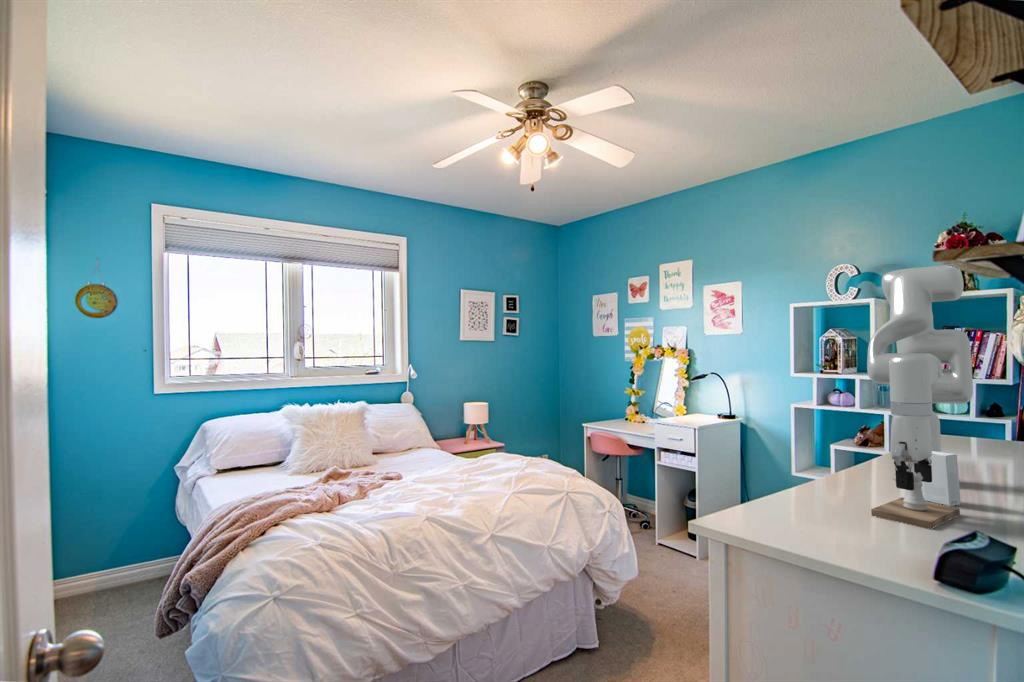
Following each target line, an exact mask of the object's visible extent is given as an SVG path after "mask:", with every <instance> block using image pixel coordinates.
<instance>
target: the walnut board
mask: <svg viewBox="0 0 1024 682" xmlns="http://www.w3.org/2000/svg"><path fill="white" fill-rule="evenodd" d="M905 498H906V497H904V496H903V497H899V498H897V499H894V500H892V501H888V502H886V503H884V504H882V505H879V506H876V507H873V508H871V513H870V514H871V515H870V516H871V517H874V516H876V517H875V518H879V517H880V518H879V519H883V518H884V520H888V519H889V521H892V520H893V521H892V522H896V521H898V522H897V523H901V522H903V523H902V524H905V523H907V524H906V525H910V524H911V525H910V526H914V525H915V526H914V527H919V528H923V527H925V528H924V529H927V528H930V529H929V530H932V529H931V528H933V527H935V526H937V525H939V524H941V523H943V522H945V521H947V520H949V519H951V518H953V517H955V516H957V517H958V515H959V516H960V515H961V511H960V508H959V507H957V506H956V507H955V506H947V505H942V504H938V503H934V502H929V501H926V502H927V505H926V507H928V509H927V510H926V511H915V510H910V509H907V508H905V507H904V506H903V504H905V503H904V501H903V500H904V499H905ZM955 518H956V517H955ZM953 519H954V518H953ZM951 520H952V519H951ZM949 521H950V520H949ZM947 522H948V521H947ZM945 523H946V522H945ZM943 524H944V523H943ZM941 525H942V524H941ZM939 526H940V525H939ZM937 527H938V526H937ZM935 528H936V527H935ZM933 529H934V528H933Z"/></svg>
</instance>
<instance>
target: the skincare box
mask: <svg viewBox="0 0 1024 682" xmlns="http://www.w3.org/2000/svg"><path fill="white" fill-rule="evenodd" d="M931 455H932V456H931V457H930V458H931V460H932V464H931V466H932V482H930V483H929V482H923V481H922V486H921V487H922V494H923V497H924V498H925V499H924V500H925V501H926V502H929V501H930V502H929V503H935V504H940V505H942V504H943V505H945V506H950V507H955V505H957V506H960V505H961V493H960V492H961V491H960V489H961V488H960V477H959V465H958V455H957V454H956V453H949V452H942V451H941V452H936V451H932V454H931ZM928 465H929V464H928Z"/></svg>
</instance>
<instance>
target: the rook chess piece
mask: <svg viewBox="0 0 1024 682" xmlns="http://www.w3.org/2000/svg"><path fill="white" fill-rule="evenodd" d="M913 473H914V490H912V491H911V490H907V493H906V495H905V497H904V498H905V499H904V500H903V501H904V503H905V504H903V506H904V507H905V508H907V509H910V510H915V511H926V510H927V509H928V507H926V505H927V502H928V501H925V500H924V499H925V498H924V497H923V489H922V487H923V486H922V484H921V480H922V479H923V477H922V476H921V474H920V473H918V474H916V472H913Z"/></svg>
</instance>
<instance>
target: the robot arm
mask: <svg viewBox="0 0 1024 682" xmlns="http://www.w3.org/2000/svg"><path fill="white" fill-rule="evenodd" d="M948 265H949V264H946V265H945V264H944V265H943V264H942V265H935V266H934V265H932V266H925V267H923V266H921V267H910V268H902V269H901V268H900V269H896V270H892V271H889V272H886V273H885V274H884V275H883V276H882V278H881V288H882V291H883V295H884V296H885V299H886V301H887V303H888V304H889V307H890V309H889V320H888V321H887V322H886V323H884V324H883V325H881V326H880V327H879V328H878V329H877V330H876V331H875V333H874V334H873V335H872V337H871V338H870V340H869V342H868V347H867V359H866V361H867V362H866V365H867V366H866V369H867V372H866V373H867V375H868V378H869V379H870V381H871V382H873V383H875V384H880V385H889V397H890V399H889V401H890V415H891V416H892V418H891V423H890V424H891V425H890V458H891V459H892V460H894V461H893V464H894V470H895V472H894V473H893V474H892V478H893V479H894V480H895V486H896V488H897V489H899V490H900V489H901V490H907V491H908V490H911V491H912V490H914V473H913V472H916V474H918V473H920V474H921V476H922V477H923V479H922V480H921V484H922V481H923V482H929V483H930V482H932V466H931V464H932V460H931V458H930V457H931V456H932V455H931V454H932V451H936V452H942V441H941V440H942V439H941V421H940V418H939V415H937V413H936V412H935V411H933V404H942V405H943V404H946V405H947V404H950V405H953V404H954V405H955V404H956V405H958V404H959V405H960V404H961V405H963V404H967V403H969V402H970V401H971V400H972V398H973V393H974V385H973V383H974V379H973V365H972V350H971V341H970V339H969V336H968V335H967V333H965V332H964V331H962V330H960V329H954V328H953V329H951V328H950V329H935V328H934V327H935V326H934V314H933V309H932V308H933V307H932V303H936V302H938V303H939V302H952V301H957V300H959V299H960V298H961V297H962V295H963V292H964V277H963V274H962V271H961V269H960V268H959V269H957V268H955V267H952V266H948ZM894 343H896V352H895V353H892V352H891V353H890V352H889V353H887V352H885V353H883V351H884V350H885V349H886V348H887V347H888V346H890V345H892V344H894ZM943 365H947V366H948V367H950V368H943ZM928 464H929V465H928Z"/></svg>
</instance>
